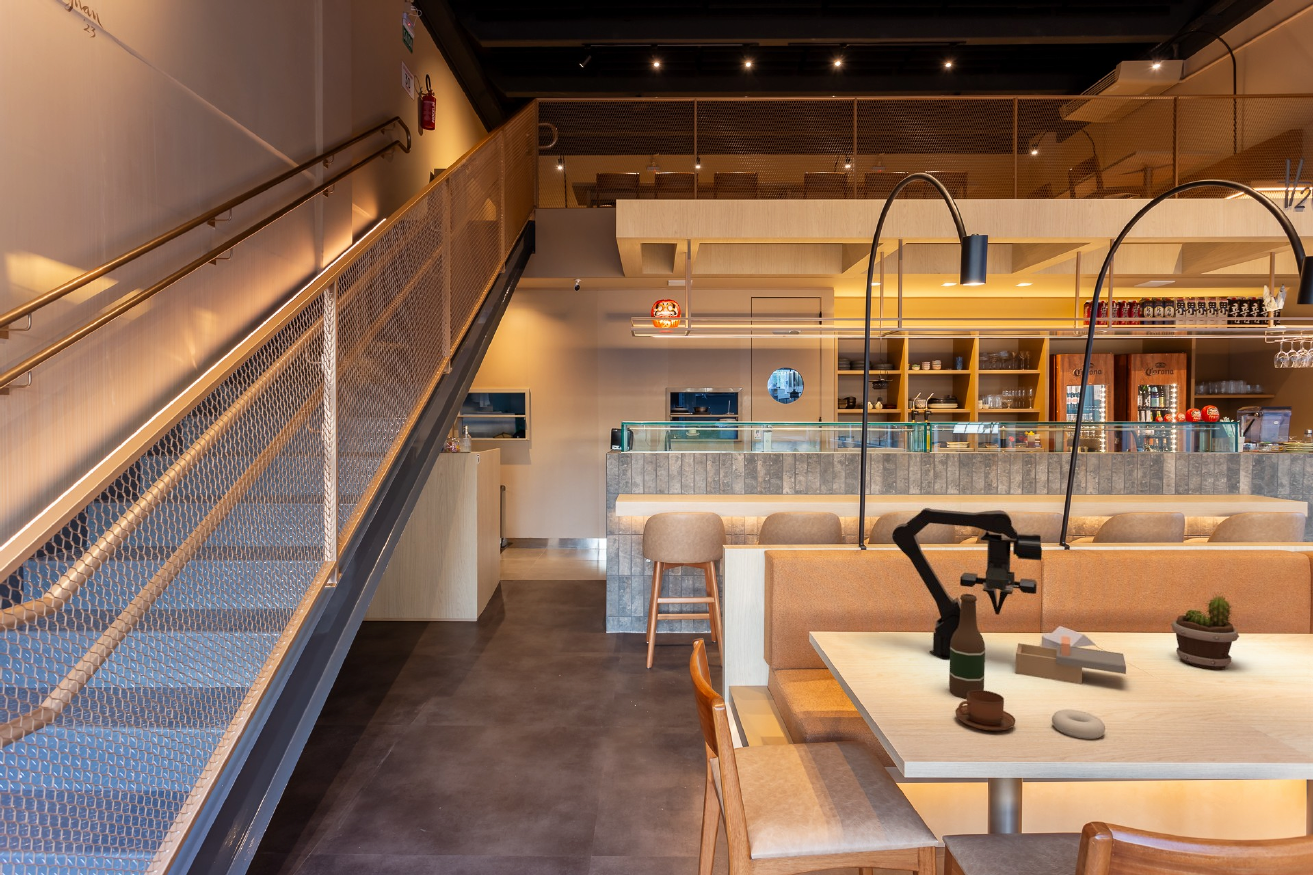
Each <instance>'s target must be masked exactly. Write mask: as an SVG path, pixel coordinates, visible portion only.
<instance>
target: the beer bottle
mask: <svg viewBox="0 0 1313 875" xmlns="http://www.w3.org/2000/svg"><path fill="white" fill-rule="evenodd" d="M959 600H960V603H961V611H960V621H959V626H958V628H957V630H956V631H955V632H954V633H953V636H952V638H951V643H950V659H949V671H948V672H949V676H948V677H949V681H948V683H949V685H948V686H949V691H950V693H951V694H952V695H953V696H955V697H957V698H960V699H961V698H962V699H966V700H967V693H968V692H969V691H973V690H984V691H985V673H986V672H985V669H986V668H985V666H986V645H985V641H984V637H983V635H982V634H981V632H980V631H979V628H978V622H977V621H978V620H977V601H978V598H977V596H976V595H974V594H972V593H963V594H961V595H960V597H959Z"/></svg>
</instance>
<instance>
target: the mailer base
mask: <svg viewBox="0 0 1313 875" xmlns="http://www.w3.org/2000/svg"><path fill="white" fill-rule="evenodd" d="M1056 655H1057V649H1056V648H1049V647H1042V645H1041V646H1039V645H1035V644H1027V643H1019V642H1018V644H1017V648H1016V652H1015V674H1016V675H1023V676H1029V677H1035V678H1042V679H1046V680H1047V679H1048V680H1055V681H1061V682H1068V683H1074V684H1078V685H1082V682H1083V680H1082V679H1083V668H1082V667H1075V666H1068V665H1062V664H1056Z"/></svg>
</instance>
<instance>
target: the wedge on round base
mask: <svg viewBox="0 0 1313 875" xmlns="http://www.w3.org/2000/svg"><path fill="white" fill-rule="evenodd" d="M1062 636H1064V637H1070V646H1072V647H1079V648H1083V647H1090V646H1097V644H1096V643H1095V642H1093V641H1092V640H1091V639H1090V638H1089V637H1087V635H1085V634H1084V633H1082V632H1077V631H1076V630H1072V629H1069V628H1067V627H1063V626H1062V625H1059V626H1058V627H1057V628H1056V629H1054V631H1053V632H1046V633H1042V634H1041V646H1042V647H1049V648H1056V649H1057V645H1061V637H1062Z"/></svg>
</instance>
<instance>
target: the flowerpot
mask: <svg viewBox="0 0 1313 875" xmlns="http://www.w3.org/2000/svg"><path fill="white" fill-rule="evenodd" d="M1222 593H1223V592H1221V593H1220V594H1219V595H1217V594H1214V595H1215V596H1214V595H1212V598H1208V599H1207V600H1208V601H1207V603H1206V604H1205V605H1206V606H1205V607H1206V608H1207V609H1206V610H1204V611H1206V612H1205V613H1204V611H1203V610H1201V609H1198V608H1197V607H1195V608H1192V607H1189V609H1187V610H1186V612H1185V615H1178V617H1177V618H1176V619H1175V620H1173V621H1172V623H1171V624H1170V625H1171V629H1172V631H1173V632H1174V633H1175V637H1176V642H1177V646H1178V647H1177V648H1176V650H1175V652H1176V654H1177V656H1178V657H1179V658H1180V660H1181V662H1182V663H1184V664H1191V665H1192V666H1193V667H1196V668H1199V667H1200V668H1201V669H1206V670H1223V669H1225V668H1226V666H1229V665H1230V664H1231V663H1233V662H1232V661H1233V660H1232V656H1231V655H1230V651H1231V647H1232V643H1233V642H1236V641H1237V640H1238V639H1239V638H1240V635H1239V632H1238V630H1237V629H1236V628H1234V625H1233V623H1231V618H1232V617H1233V612H1234V611H1233V606H1232V605H1231V602H1230V600H1226V596H1224V594H1222ZM1221 594H1222V595H1221ZM1206 614H1207V615H1206Z"/></svg>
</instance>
